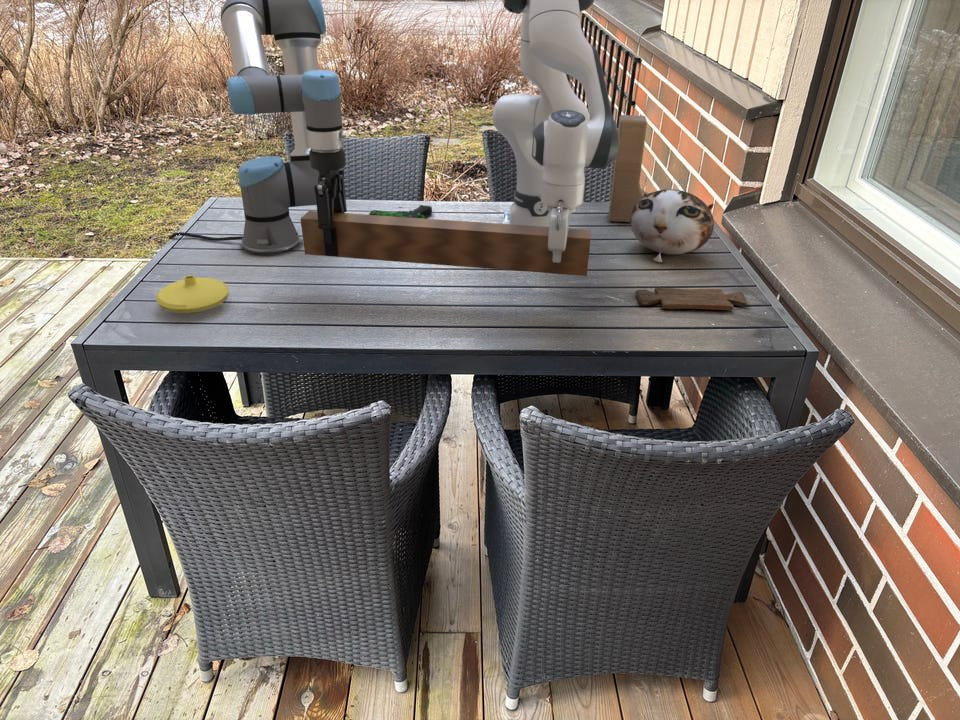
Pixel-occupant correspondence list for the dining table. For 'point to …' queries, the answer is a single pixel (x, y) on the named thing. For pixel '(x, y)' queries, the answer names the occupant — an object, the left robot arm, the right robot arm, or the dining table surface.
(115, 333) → the dining table surface
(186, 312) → the yellow round disc
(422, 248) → the post
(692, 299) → the dark wooden board
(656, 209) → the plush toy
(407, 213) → the handgun
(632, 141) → the decorative block
